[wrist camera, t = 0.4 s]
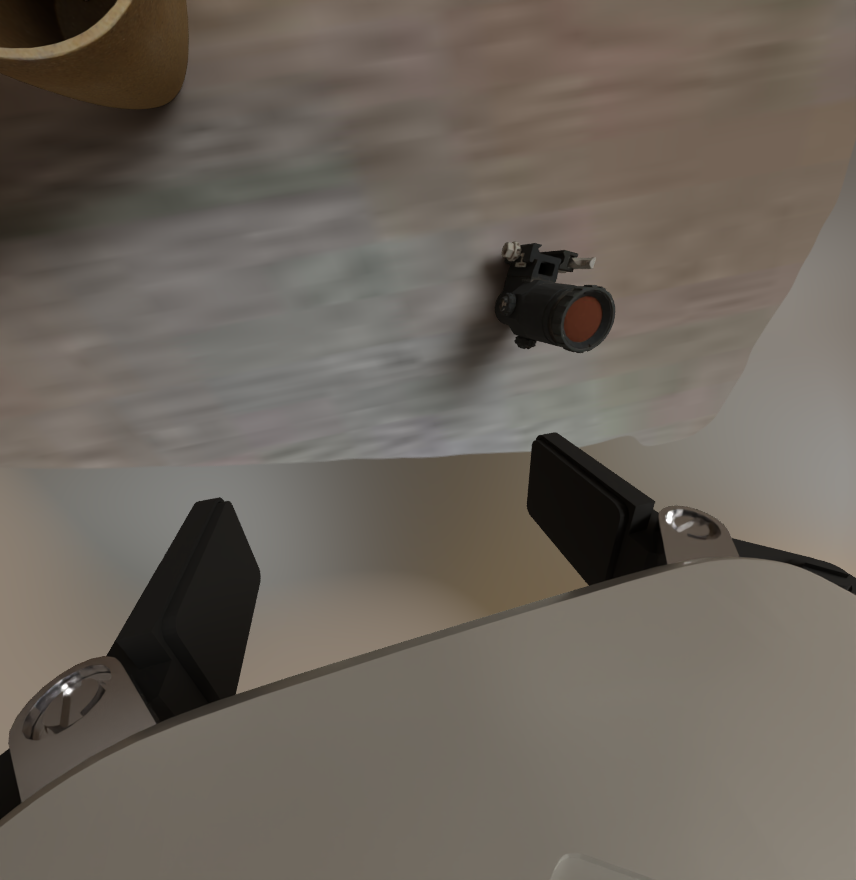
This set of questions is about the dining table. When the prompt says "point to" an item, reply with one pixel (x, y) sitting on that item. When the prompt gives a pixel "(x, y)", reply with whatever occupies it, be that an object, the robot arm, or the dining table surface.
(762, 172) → the dining table surface
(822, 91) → the dining table surface
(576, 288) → the scope
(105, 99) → the plant pot
